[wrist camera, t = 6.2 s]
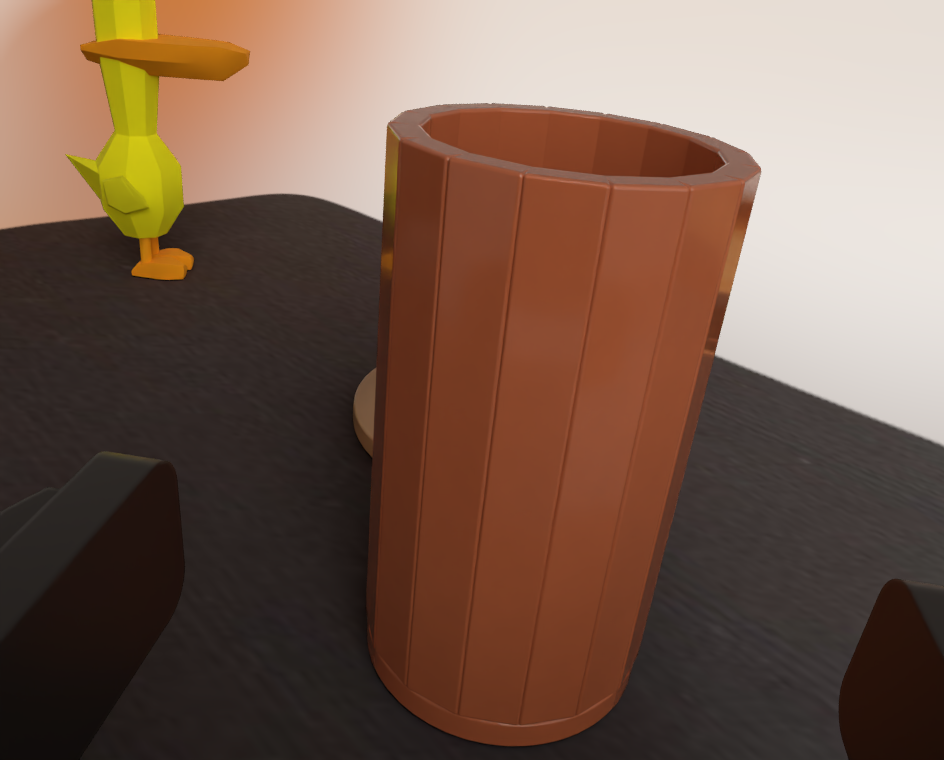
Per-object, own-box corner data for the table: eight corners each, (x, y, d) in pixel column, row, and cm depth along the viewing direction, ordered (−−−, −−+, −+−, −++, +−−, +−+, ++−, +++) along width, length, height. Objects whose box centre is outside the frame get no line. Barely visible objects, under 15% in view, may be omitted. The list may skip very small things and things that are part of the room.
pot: (334, 718, 15) (346, 151, 10) (398, 533, 19) (426, 91, 15) (637, 773, 14) (797, 208, 10) (626, 569, 19) (729, 127, 14)
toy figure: (261, 261, 34) (253, -62, 29) (246, 293, 31) (233, -63, 26) (94, 250, 34) (53, -83, 28) (62, 282, 31) (8, -86, 25)
